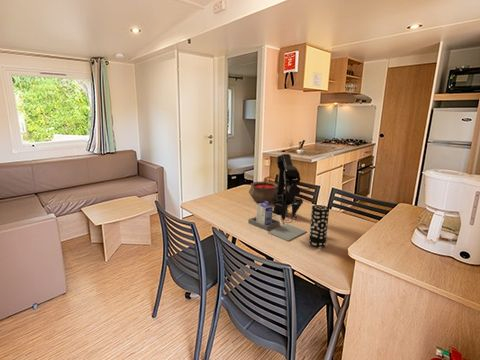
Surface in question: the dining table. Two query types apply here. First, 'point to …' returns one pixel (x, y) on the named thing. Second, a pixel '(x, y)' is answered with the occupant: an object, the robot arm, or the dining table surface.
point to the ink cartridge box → (264, 213)
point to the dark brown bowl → (263, 191)
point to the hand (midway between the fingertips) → (288, 218)
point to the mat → (287, 232)
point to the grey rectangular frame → (262, 226)
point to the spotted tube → (318, 226)
